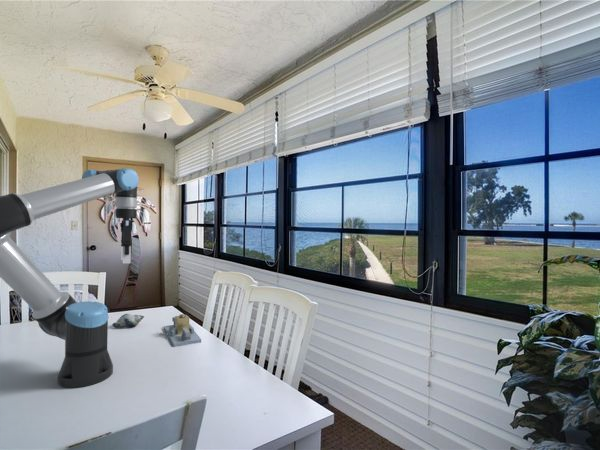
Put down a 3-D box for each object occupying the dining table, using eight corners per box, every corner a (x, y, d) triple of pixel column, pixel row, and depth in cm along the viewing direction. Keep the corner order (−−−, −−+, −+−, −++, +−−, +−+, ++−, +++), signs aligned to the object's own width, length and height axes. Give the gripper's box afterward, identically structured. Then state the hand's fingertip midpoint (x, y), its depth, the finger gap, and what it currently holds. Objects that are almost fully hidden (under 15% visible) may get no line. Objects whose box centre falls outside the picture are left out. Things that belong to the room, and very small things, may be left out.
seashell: (120, 328, 163) (142, 329, 161) (110, 326, 156) (133, 327, 155) (123, 314, 166) (146, 315, 164) (114, 312, 159) (137, 313, 157)
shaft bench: (201, 342, 142) (201, 330, 141) (173, 346, 136) (174, 334, 136) (187, 325, 164) (187, 315, 164) (163, 328, 158) (164, 318, 158)
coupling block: (189, 333, 149) (189, 315, 149) (177, 334, 147) (177, 317, 147) (186, 329, 153) (186, 312, 153) (175, 331, 151) (175, 314, 151)
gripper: (139, 207, 125) (138, 264, 125) (134, 209, 146) (133, 257, 146) (116, 207, 121) (115, 265, 121) (114, 208, 142) (114, 258, 143)
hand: (125, 261), depth 134 cm, fingers open, 13 cm apart
